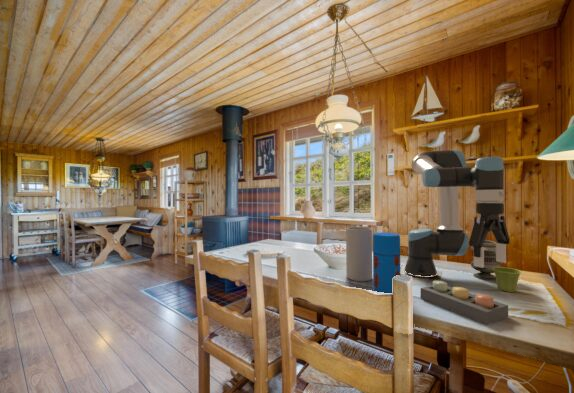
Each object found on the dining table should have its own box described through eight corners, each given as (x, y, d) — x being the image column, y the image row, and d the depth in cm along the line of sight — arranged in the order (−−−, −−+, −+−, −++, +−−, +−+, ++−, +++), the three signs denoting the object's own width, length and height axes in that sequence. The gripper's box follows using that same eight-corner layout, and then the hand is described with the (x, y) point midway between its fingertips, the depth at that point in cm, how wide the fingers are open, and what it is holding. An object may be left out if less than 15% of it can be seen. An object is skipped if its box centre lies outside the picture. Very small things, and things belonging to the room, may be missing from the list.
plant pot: (527, 294, 106) (526, 273, 106) (500, 293, 108) (500, 272, 108) (512, 286, 115) (511, 267, 115) (488, 285, 117) (488, 266, 117)
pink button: (472, 306, 89) (472, 295, 89) (480, 304, 91) (480, 293, 91) (488, 312, 85) (488, 300, 85) (497, 309, 87) (497, 298, 87)
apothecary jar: (480, 280, 124) (479, 243, 124) (465, 273, 136) (465, 239, 136) (507, 281, 122) (507, 243, 122) (490, 273, 134) (490, 239, 134)
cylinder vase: (361, 273, 138) (361, 226, 138) (377, 280, 126) (377, 229, 126) (341, 275, 134) (341, 227, 134) (356, 283, 122) (355, 230, 122)
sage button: (429, 291, 104) (429, 281, 104) (438, 289, 106) (438, 279, 106) (441, 295, 99) (441, 285, 99) (450, 293, 101) (450, 283, 101)
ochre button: (449, 298, 97) (449, 288, 97) (457, 296, 99) (457, 286, 99) (463, 303, 92) (463, 292, 92) (471, 301, 94) (471, 290, 94)
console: (420, 297, 104) (420, 288, 104) (440, 293, 109) (440, 283, 109) (487, 324, 82) (487, 312, 82) (508, 317, 87) (508, 305, 87)
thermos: (368, 290, 113) (367, 233, 113) (387, 286, 117) (386, 231, 117) (386, 299, 103) (385, 236, 103) (406, 295, 107) (405, 235, 107)
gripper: (480, 203, 80) (481, 271, 80) (521, 202, 91) (522, 262, 90) (456, 202, 86) (456, 266, 86) (496, 201, 97) (497, 258, 97)
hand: (490, 264), depth 88 cm, fingers open, 13 cm apart
